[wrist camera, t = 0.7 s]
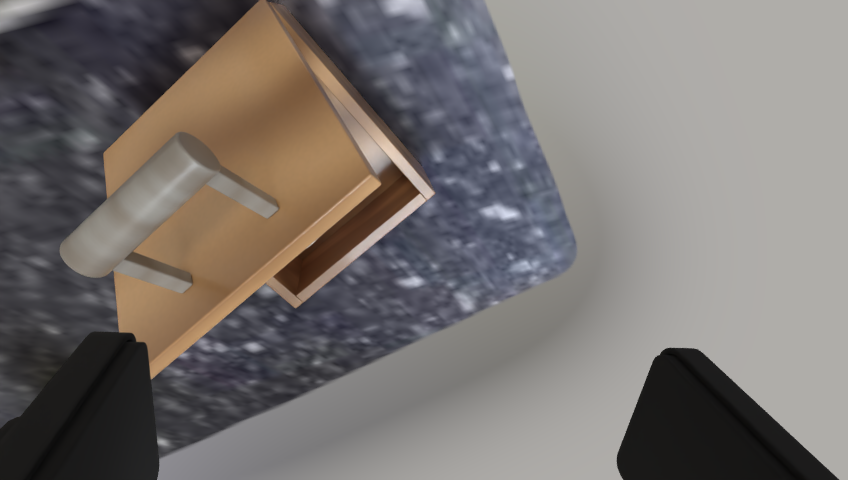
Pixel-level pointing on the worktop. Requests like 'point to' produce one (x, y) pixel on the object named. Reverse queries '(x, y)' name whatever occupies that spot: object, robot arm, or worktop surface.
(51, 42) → the worktop surface
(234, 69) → the lid
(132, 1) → the worktop surface
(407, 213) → the chest
